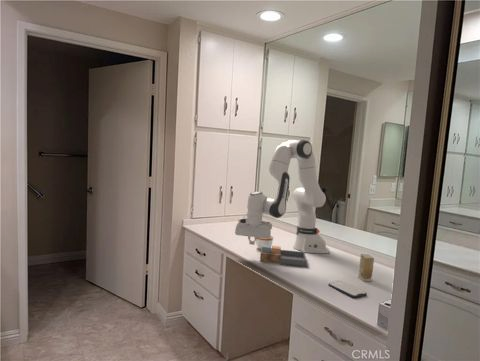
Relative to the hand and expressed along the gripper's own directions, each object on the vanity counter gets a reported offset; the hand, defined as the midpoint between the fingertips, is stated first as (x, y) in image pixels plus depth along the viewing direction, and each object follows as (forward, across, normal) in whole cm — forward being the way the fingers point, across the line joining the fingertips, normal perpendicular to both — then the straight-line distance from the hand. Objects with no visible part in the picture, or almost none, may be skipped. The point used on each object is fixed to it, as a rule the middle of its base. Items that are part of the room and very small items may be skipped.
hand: (251, 244), depth 194 cm
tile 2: (+3, -8, 0) cm, 9 cm away
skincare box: (+7, -59, +18) cm, 62 cm away
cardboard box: (+7, -11, 0) cm, 13 cm away
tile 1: (+3, -14, 0) cm, 14 cm away
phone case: (+8, -46, +35) cm, 59 cm away
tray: (+7, -24, 0) cm, 25 cm away
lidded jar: (+7, -6, -20) cm, 22 cm away
